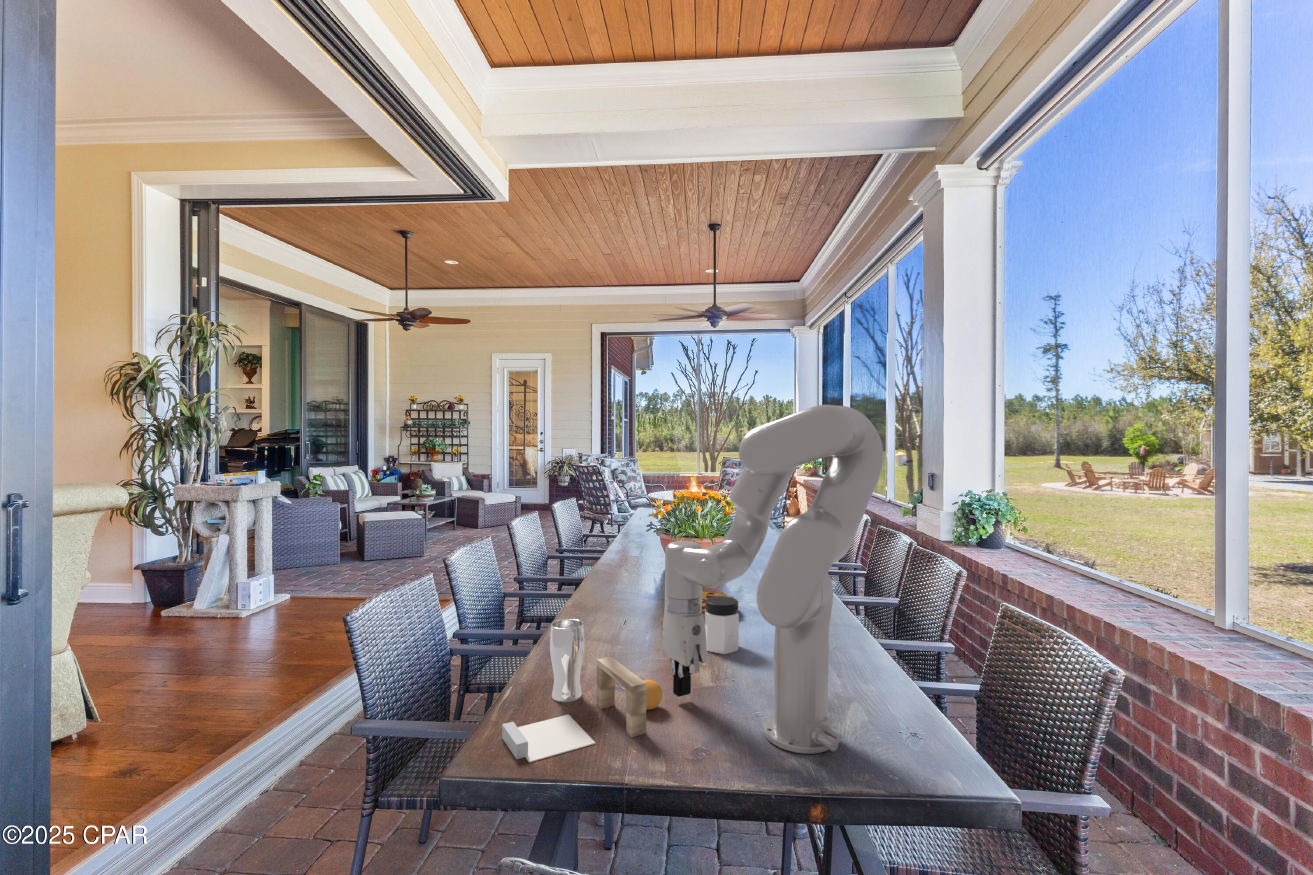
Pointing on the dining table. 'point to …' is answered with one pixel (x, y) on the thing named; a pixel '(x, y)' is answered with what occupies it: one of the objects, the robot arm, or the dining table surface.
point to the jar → (722, 624)
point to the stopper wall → (515, 740)
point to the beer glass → (567, 658)
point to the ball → (652, 694)
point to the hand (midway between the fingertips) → (681, 693)
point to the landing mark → (554, 737)
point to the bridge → (634, 699)
